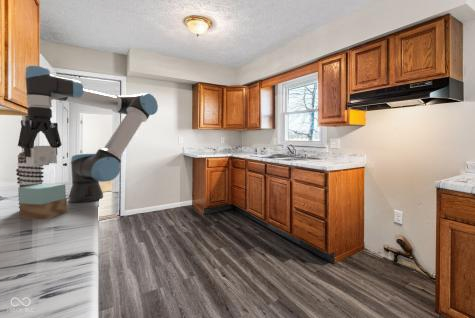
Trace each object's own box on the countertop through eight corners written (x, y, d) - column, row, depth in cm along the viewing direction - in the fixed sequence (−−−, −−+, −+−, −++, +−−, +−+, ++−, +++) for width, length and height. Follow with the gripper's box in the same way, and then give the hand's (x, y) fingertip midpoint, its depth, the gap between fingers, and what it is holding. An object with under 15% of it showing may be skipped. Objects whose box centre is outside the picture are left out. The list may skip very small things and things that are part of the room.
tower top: (44, 197, 105) (44, 183, 105) (65, 198, 103) (65, 184, 103) (19, 203, 95) (18, 187, 94) (41, 204, 93) (41, 188, 93)
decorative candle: (50, 208, 109) (47, 151, 107) (24, 213, 101) (21, 152, 99) (39, 205, 113) (36, 151, 111) (14, 210, 105) (10, 152, 103)
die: (32, 168, 92) (51, 147, 95) (16, 156, 93) (34, 136, 96) (48, 173, 100) (65, 154, 103) (33, 162, 101) (49, 143, 104)
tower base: (44, 211, 105) (44, 197, 105) (67, 212, 104) (66, 198, 104) (20, 218, 95) (19, 203, 95) (44, 219, 94) (43, 204, 93)
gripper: (54, 111, 108) (57, 162, 110) (1, 103, 86) (5, 166, 88) (70, 111, 107) (72, 162, 109) (20, 102, 85) (23, 167, 87)
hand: (42, 164), depth 98 cm, fingers closed on die, 9 cm apart
